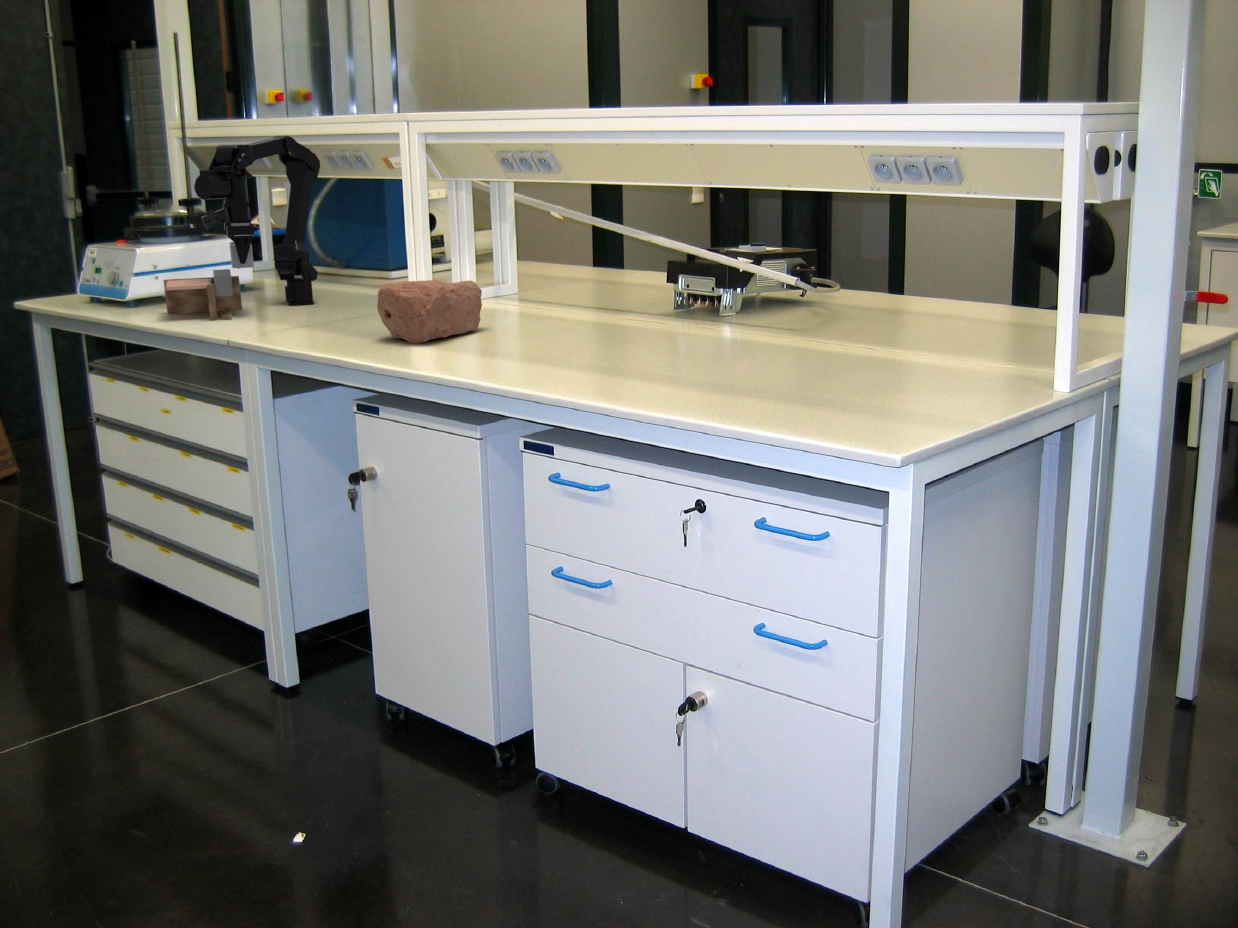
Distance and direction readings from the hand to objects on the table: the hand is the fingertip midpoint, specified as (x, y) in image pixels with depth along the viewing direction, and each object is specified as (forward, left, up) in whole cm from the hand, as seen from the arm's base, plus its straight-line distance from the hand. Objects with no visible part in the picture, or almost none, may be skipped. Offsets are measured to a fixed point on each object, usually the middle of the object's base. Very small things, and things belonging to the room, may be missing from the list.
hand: (242, 262), depth 280 cm
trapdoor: (+10, -1, -7) cm, 13 cm away
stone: (-39, +50, -13) cm, 64 cm away
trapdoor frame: (+10, -1, -13) cm, 16 cm away
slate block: (0, 0, -1) cm, 1 cm away
